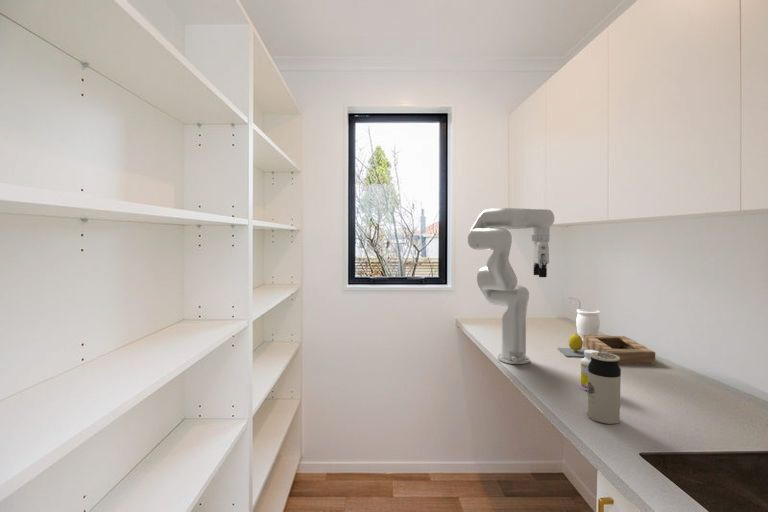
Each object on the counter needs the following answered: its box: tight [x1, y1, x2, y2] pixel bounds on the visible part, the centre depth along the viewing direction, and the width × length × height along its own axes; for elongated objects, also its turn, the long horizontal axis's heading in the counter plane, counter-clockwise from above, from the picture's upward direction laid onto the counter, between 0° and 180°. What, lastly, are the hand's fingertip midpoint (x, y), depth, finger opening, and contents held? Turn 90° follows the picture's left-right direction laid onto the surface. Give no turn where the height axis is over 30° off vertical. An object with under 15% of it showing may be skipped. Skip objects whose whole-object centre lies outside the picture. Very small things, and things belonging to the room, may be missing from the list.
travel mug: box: [586, 352, 622, 425], centre depth 110 cm, size 8×8×18 cm
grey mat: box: [557, 347, 588, 358], centre depth 172 cm, size 12×12×1 cm
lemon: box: [568, 333, 583, 352], centre depth 172 cm, size 6×6×8 cm
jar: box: [575, 308, 601, 341], centre depth 193 cm, size 11×10×15 cm
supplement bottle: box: [580, 349, 599, 392], centre depth 132 cm, size 7×7×13 cm
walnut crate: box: [582, 334, 656, 366], centre depth 170 cm, size 26×18×5 cm
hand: (539, 276), depth 179 cm, fingers open, 9 cm apart
